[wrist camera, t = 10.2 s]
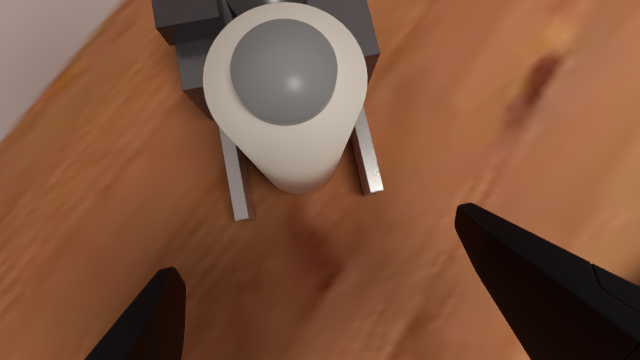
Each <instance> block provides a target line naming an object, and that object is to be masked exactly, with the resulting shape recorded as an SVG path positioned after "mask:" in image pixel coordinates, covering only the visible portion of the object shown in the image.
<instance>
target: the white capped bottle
mask: <svg viewBox="0 0 640 360" xmlns="http://www.w3.org/2000/svg"><path fill="white" fill-rule="evenodd" d="M203 89H204V95H205V99H206V102H207V105H208V108H209V110H210V112H211V114H212V116H213V118H214V120H215V121H216V123H217V124H218V126H219V127H220V128H221V129H222V130H223V131H224V132H225V133H226V135H227V136H228V137H229V138H230V139H231V140H232V141H233V142H234V143H235V144H236V145H237V146H238V147H239V148H240V149H241V151H242V152H243V153H244V154H245V155H246V156H247V157H248V158H249V159H250V160H251V161H252V162H253V163H254V164H255V165H256V167H257V168H258V169H259V170H260V171H261V172H262V173H263V174H264V175H265V176H266V177H267V178H268V179H269V180H270V181H271V183H272V184H273V185H275V186H276V187H277V188H279V189H280V190H282V191H284V192H287V193H290V194H295V195H304V194H310V193H313V192H315V191H317V190H319V189H321V188H322V187H324V186H325V185H326V184H327V183H328V182H329V181H330V179H331V178H332V176H333V174H334V172H335V170H336V168H337V165H338V163H339V161H340V158H341V156H342V154H343V151H344V149H345V147H346V144H347V142H348V139H349V137H350V135H351V132H352V130H353V128H354V125H355V123H356V121H357V118H358V116H359V114H360V111H361V109H362V106H363V103H364V100H365V97H366V91H367V67H366V63H365V59H364V56H363V53H362V51H361V48H360V46H359V45H358V43H357V41H356V39H355V38H354V36H353V35H352V34H351V32H350V31H349V30H348V29H347V28H346V27H345V26H344V25H343V24H342V23H341V22H340V21H338V20H337V19H336V18H335V17H333V16H331V15H330V14H328V13H326V12H324V11H322V10H320V9H318V8H315V7H312V6H309V5H305V4H300V3H291V2H280V3H271V4H266V5H262V6H259V7H256V8H253V9H251V10H249V11H246V12H245V13H243V14H241V15H240V16H238V17H236V18H235V19H234V20H233V21H231V22H230V23H229V24H228V25H227V26H226V27H225V28H224V29H223V30H222V31H221V32H220V33H219V35H218V36H217V37H216V39H215V40H214V42H213V44H212V46H211V47H210V50H209V52H208V55H207V57H206V61H205V65H204V72H203Z"/></svg>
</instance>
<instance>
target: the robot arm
mask: <svg viewBox="0 0 640 360" xmlns="http://www.w3.org/2000/svg"><path fill="white" fill-rule="evenodd" d="M455 229H456V232H457V234H458V236H459V238H460V240H461V242H462V244H463V246H464V248H465V250H466V253H467V255H468V257H469V259H470V261H471V263H472V265H473V267H474V269H475V271H476V273H477V274H478V276H479V278H480V279H481V281H482V282H483V284H484V286H485V287H486V289H487V290H488V292H489V294H490V295H491V297H492V298H493V300H494V302H495V303H496V305H497V306H498V308H499V310H500V311H501V313H502V314H503V316H504V318H505V319H506V321H507V322H508V324H509V326H510V327H511V329H512V330H513V332H514V334H515V335H516V337H517V338H518V340H519V342H520V343H521V345H522V346H523V348H524V350H525V351H526V353H527V354H528V356H529V358H530V359H531V360H640V286H638V285H636V284H634V283H631V282H629V281H627V280H625V279H623V278H621V277H619V276H617V275H615V274H613V273H611V272H609V271H607V270H605V269H603V268H601V267H599V266H597V265H595V264H591V263H590V262H589V261H587V260H585V259H583V258H581V257H579V256H577V255H575V254H573V253H571V252H569V251H567V250H565V249H563V248H561V247H559V246H557V245H555V244H553V243H551V242H549V241H547V240H545V239H543V238H541V237H539V236H537V235H535V234H533V233H531V232H529V231H527V230H525V229H523V228H521V227H519V226H517V225H515V224H513V223H511V222H509V221H507V220H505V219H503V218H501V217H499V216H497V215H495V214H493V213H491V212H489V211H487V210H485V209H483V208H481V207H479V206H477V205H476V204H473V203H465V204H461V205H459V206H458V207H457V211H456V217H455ZM185 302H186V286H185V283H184V281H183V279H182V278H181V276H180V275H179V273H178V271H177V270H176V268H174V267H168V268H163V269H160V270H159V271H158V272H157V273H156V274H155V275H154V276H153V277H152V279H151V280H150V281H149V282H148V284H147V285H146V286H145V287H144V288H143V290H142V291H141V292H140V293H139V294H138V296H137V297H136V298H135V299H134V300H133V302H132V303H131V304H130V305H129V306H128V308H127V309H126V310H125V311H124V312H123V314H122V315H121V316H120V317H119V318H118V320H117V321H116V322H115V323H114V324H113V326H112V327H111V328H110V329H109V330H108V332H107V333H106V334H105V335H104V336H103V338H102V339H101V340H100V341H99V342H98V344H97V345H96V346H95V347H94V349H93V350H92V351H91V352H90V353H89V355H88V356H87V357H86V358H85V359H84V360H181V356H182V350H183V342H184V330H185Z"/></svg>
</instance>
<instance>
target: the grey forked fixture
mask: <svg viewBox="0 0 640 360" xmlns="http://www.w3.org/2000/svg"><path fill="white" fill-rule="evenodd" d="M280 2H291V3H300V4H305V5H309V6H312V7H315V8H318V9H320V10H322V11H324V12H326V13H328V14H330V15H331V16H333V17H335V18H336V19H337V20H338V21H340V22H341V23H342V24H343V25H344V26H345V27H346V28H347V29H348V30H349V31H350V32H351V34H352V35H353V36H354V38H355V39H356V41H357V43H358V45H359V46H360V48H361V51H362V53H363V56H364V59H365V63H366V67H367V86H368V83H369V80H370V78H371V75H372V73H373V70H374V68H375V65H376V62H377V60H378V57H379V55H380V51H379V47H378V43H377V39H376V35H375V31H374V27H373V24H372V20H371V16H370V12H369V8H368V4H367V0H152V7H153V13H154V20H155V26H156V29H157V30H158V31H159V33H160V34H161V35H162V36H163V38H164V39H165V40H166V42H167V43H168V44H169V45H170V46H171V45H175V46H176V53H177V59H178V65H179V71H180V78H181V84H182V90H183V91H184V92H185V93H186V94H187V96H188V97H189V98H190V99H191V100H192V101H193V102H194V103H195V104H196V105H197V106H198V107H199V108H200V109H201V110H202V111H203V112H204V113H205V114H206V116H207V117H208V118H209V119H210V120H211V121H212V120H214V118H213V116H212V114H211V112H210V110H209V108H208V105H207V102H206V99H205V95H204V89H203V72H204V65H205V61H206V57H207V55H208V52H209V50H210V47H211V46H212V44H213V42H214V40H215V39H216V37H217V36H218V35H219V33H220V32H221V31H222V30H223V29H224V28H225V27H226V26H227V25H228V24H229V23H230V22H231V21H233V20H234V19H235V18H236V17H238V16H240V15H241V14H243V13H245V12H246V11H249V10H251V9H253V8H256V7H259V6H262V5H266V4H271V3H280ZM219 131H220V136H221V142H222V148H223V154H224V159H225V165H226V171H227V177H228V182H229V188H230V194H231V200H232V205H233V211H234V217H235V221H249V220H254V219H256V216H255V211H254V205H253V200H252V194H251V189H250V183H249V178H248V172H247V167H246V161H245V156H244V153H243V152H242V151H241V149H240V148H239V147H238V146H237V145H236V144H235V143H234V142H233V141H232V140H231V139H230V138H229V137H228V136H227V135H226V133H225V132H224V131H223V130H222V129H221V128H220V127H219ZM350 138H351V142H352V146H353V151H354V155H355V159H356V164H357V168H358V172H359V177H360V181H361V185H362V190H363V194H364V196H368V195H372V194H376V193H378V192H380V191H382V190H384V189H383V185H382V181H381V177H380V173H379V168H378V164H377V160H376V156H375V152H374V148H373V144H372V139H371V135H370V131H369V127H368V123H367V119H366V115H365V110H364V106H362V109H361V111H360V114H359V116H358V118H357V121H356V123H355V125H354V128H353V130H352V132H351V135H350Z"/></svg>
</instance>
